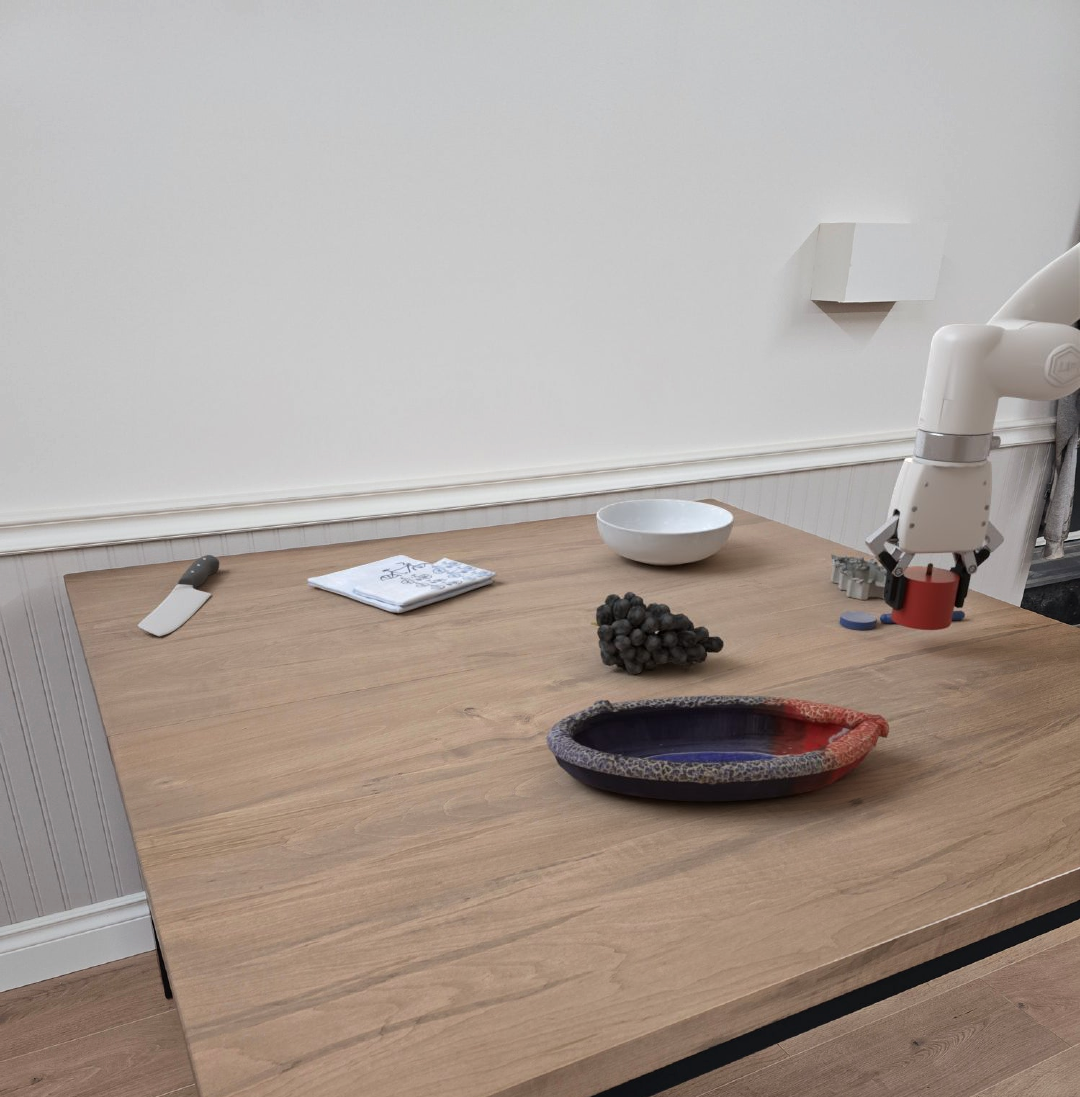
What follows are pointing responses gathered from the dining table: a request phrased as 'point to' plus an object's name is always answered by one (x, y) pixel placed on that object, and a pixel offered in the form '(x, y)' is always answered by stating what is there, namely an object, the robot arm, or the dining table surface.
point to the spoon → (875, 619)
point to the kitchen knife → (181, 599)
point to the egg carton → (859, 577)
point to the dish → (713, 746)
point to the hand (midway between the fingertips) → (923, 604)
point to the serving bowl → (664, 530)
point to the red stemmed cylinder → (927, 598)
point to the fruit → (649, 635)
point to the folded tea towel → (404, 582)
